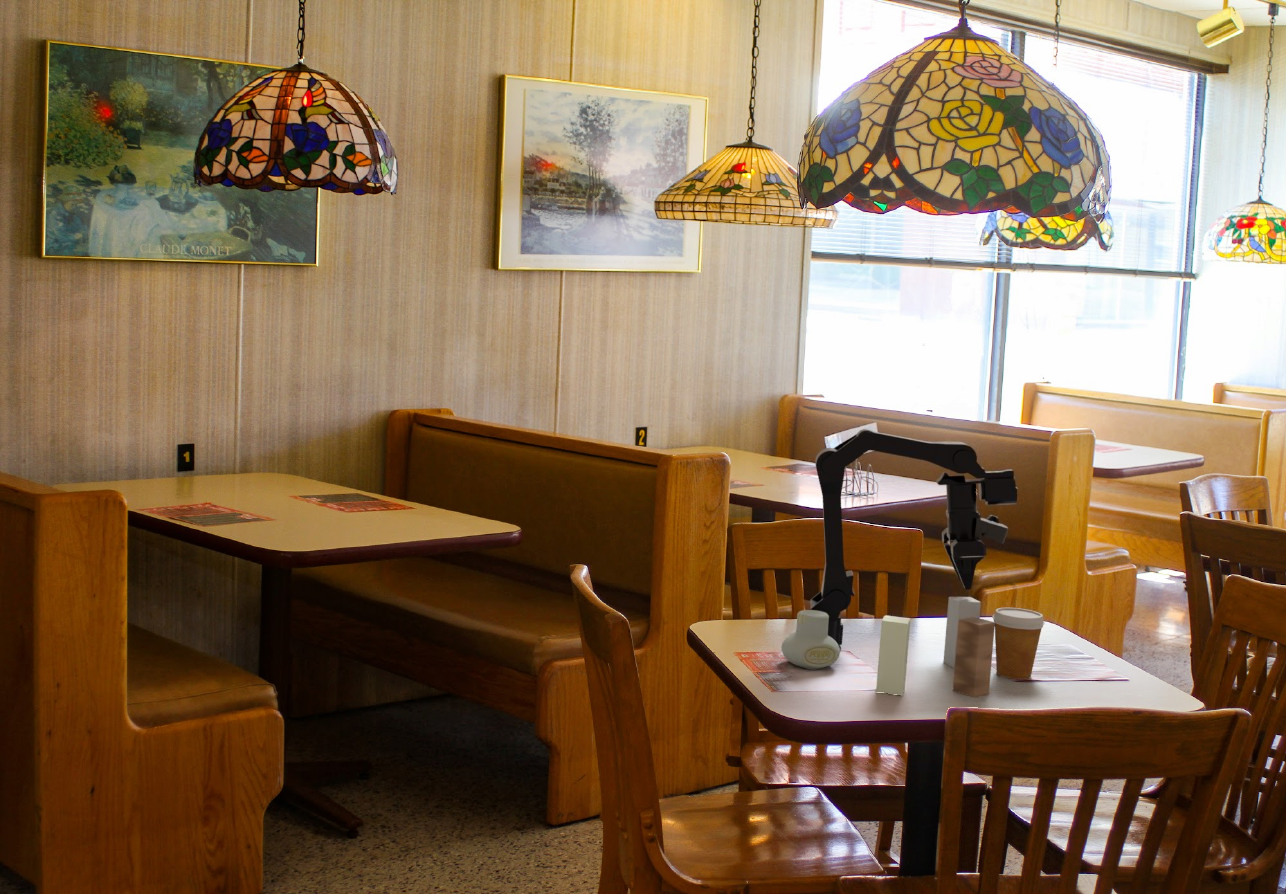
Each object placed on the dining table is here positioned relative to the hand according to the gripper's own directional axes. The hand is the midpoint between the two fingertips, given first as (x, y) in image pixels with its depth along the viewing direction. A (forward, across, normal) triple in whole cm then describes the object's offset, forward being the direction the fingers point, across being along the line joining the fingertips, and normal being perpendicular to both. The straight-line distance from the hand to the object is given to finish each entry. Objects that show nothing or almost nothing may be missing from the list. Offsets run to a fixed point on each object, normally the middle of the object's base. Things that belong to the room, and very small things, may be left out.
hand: (964, 584), depth 250 cm
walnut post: (+14, -24, +3) cm, 29 cm away
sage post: (+13, -29, +17) cm, 36 cm away
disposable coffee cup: (+16, -10, -7) cm, 20 cm away
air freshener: (+11, -16, +31) cm, 37 cm away
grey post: (+14, -6, +2) cm, 16 cm away
